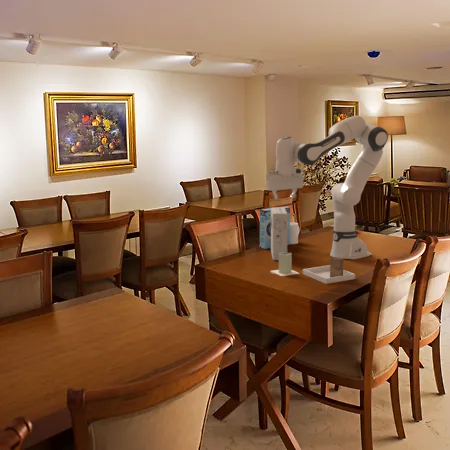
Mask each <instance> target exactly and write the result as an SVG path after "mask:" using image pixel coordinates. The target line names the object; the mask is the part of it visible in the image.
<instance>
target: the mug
mask: <svg viewBox="0 0 450 450" xmlns="http://www.w3.org/2000/svg"><path fill="white" fill-rule="evenodd" d="M299 234H300V226H299V223H298V222H293V221H290V245H297V244H298V243H299Z"/></svg>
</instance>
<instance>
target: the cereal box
mask: <svg viewBox="0 0 450 450" xmlns="http://www.w3.org/2000/svg"><path fill="white" fill-rule="evenodd" d="M276 207H277V206H276ZM276 207H270V208H271V248H270V254H271V257H272V261H279V254H280V253H282V252H287V253H288V245H287V224H288V214H287V212H286V210H285V208H284V206H278V207H277V208H276Z"/></svg>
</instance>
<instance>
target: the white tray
mask: <svg viewBox="0 0 450 450" xmlns="http://www.w3.org/2000/svg"><path fill="white" fill-rule="evenodd" d="M302 275H304V276H306V277H309V278H311V279H314V280H315V281H318V282H320V283H323V284H325V285H327V284H328V285H329V284H334V283H339V282H340V283H341V282H346V281H351V280H356V274H355V273H353V272H351V271H348V270H345V269H343V276H337V277H331V278H330V264H328V265H321V266H315V267H314V266H313V267H310V268H303V269H302Z"/></svg>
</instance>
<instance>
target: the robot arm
mask: <svg viewBox="0 0 450 450" xmlns="http://www.w3.org/2000/svg"><path fill="white" fill-rule="evenodd" d="M388 137H389V134H388V131H387V130H386V129H385V128H384V127H382V126H378V125H376V124H373V123H371V124H370V123H367V122H366V121H365V118H364V117H362V116H360V115H353V116H350V117H346V118H344V119H342V120H340V121H339V122H337V123H335V124H333V125H332V126H331V127H329V130H328V136H327V137H325V138H323V139H321V140H320V141H318V142H316V143H303V142H299V141H298V140H296V139H295V138H293V136H286V137H281V138H279V139H277V141H276V145H275V158H276V161H275V162H276V163H275V170H270V171H268V172H267V173H266V174H265V175H266V176H265V177H266V180H265V189H266V190H267V191H272V194H273V197H274V198H273V199H275V200H279V197H280V196H279V195H278V194H277V192H278V191H282V190H292V191H291V192H292V193H290V195H289V197H290V198H291V199H293V198H296V194H297V191H298V189H302V188H303V187H304V176H303V175H304V174H303V169H302V168H298V167H296V166H295V164H294V163H298V164H302V165H306V166H312V165H315V164H316V163H317V162H318V161H319V160H320V159H321V158H322V157H323V155H325V154H326V153H328V152H330V151H332V150H334V149H336V148H337V147H339V146H342V145H344V144H346V143H349V142H350V141H353V140H354V142H356V143H359V144H360V145H362V150H360V151H361V152H360V153H359V154H358V155H357V157H356V159H355V160H354V162H353V163H352V165H351V166H350V167H349V169H348V171H347V175H346V177H345V180H344V181H343V182H340V183H337V184H335V185H333V187H332V188H331V197H332V199H331V200H332V208H333V230H332V245H331V250H330V254H329V256H330V257H332V258H333V257H340V258H344V260H346V259H348V260H358V259H362V258H367V257H370V255H371V256H372V252H370V251H368V247H367V244H366V242H365V241H363V240H362V239H361V238H359V237H358V235H359V236H360V235H362V231H361V230H356V213H355V210H354V206H356V205H357V204H358V203H360V201H361V197H362V193H363V191H364V189H365V186H366V184H367V182H368V180H369V179H370V177H371V176H372V174H373V173H374V171H375V169H376V168H377V167H378V165H379V162H380V161H381V159H382V156H383V154H384V150H383V149H384V148H385V146H386V144H387V143H388V139H389V138H388Z"/></svg>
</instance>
